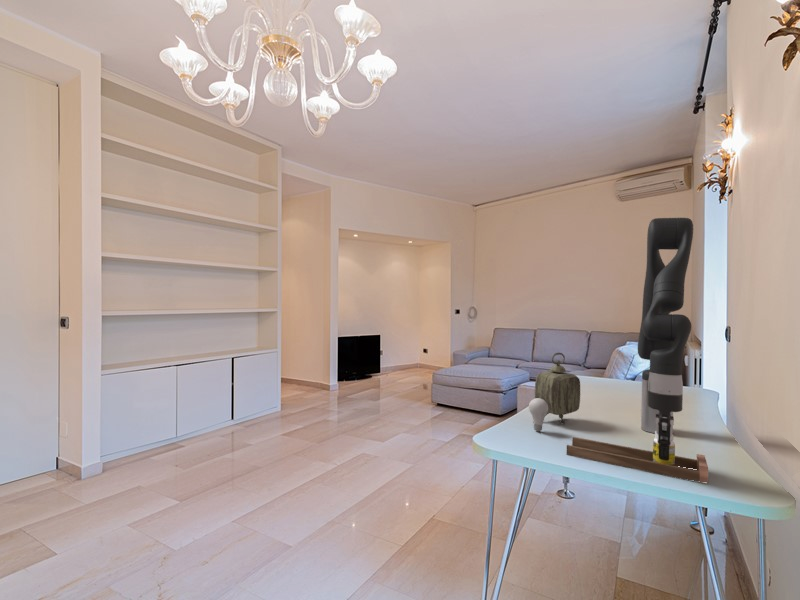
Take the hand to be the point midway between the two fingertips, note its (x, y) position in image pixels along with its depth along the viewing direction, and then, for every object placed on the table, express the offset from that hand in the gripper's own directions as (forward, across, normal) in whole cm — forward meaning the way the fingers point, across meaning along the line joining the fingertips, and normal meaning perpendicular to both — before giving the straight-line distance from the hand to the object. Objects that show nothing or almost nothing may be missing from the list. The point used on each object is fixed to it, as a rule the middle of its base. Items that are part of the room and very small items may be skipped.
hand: (663, 456), depth 105 cm
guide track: (+3, 0, +8) cm, 8 cm away
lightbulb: (+4, +12, +35) cm, 37 cm away
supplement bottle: (+3, 0, 0) cm, 3 cm away
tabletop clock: (+4, +28, +32) cm, 42 cm away
